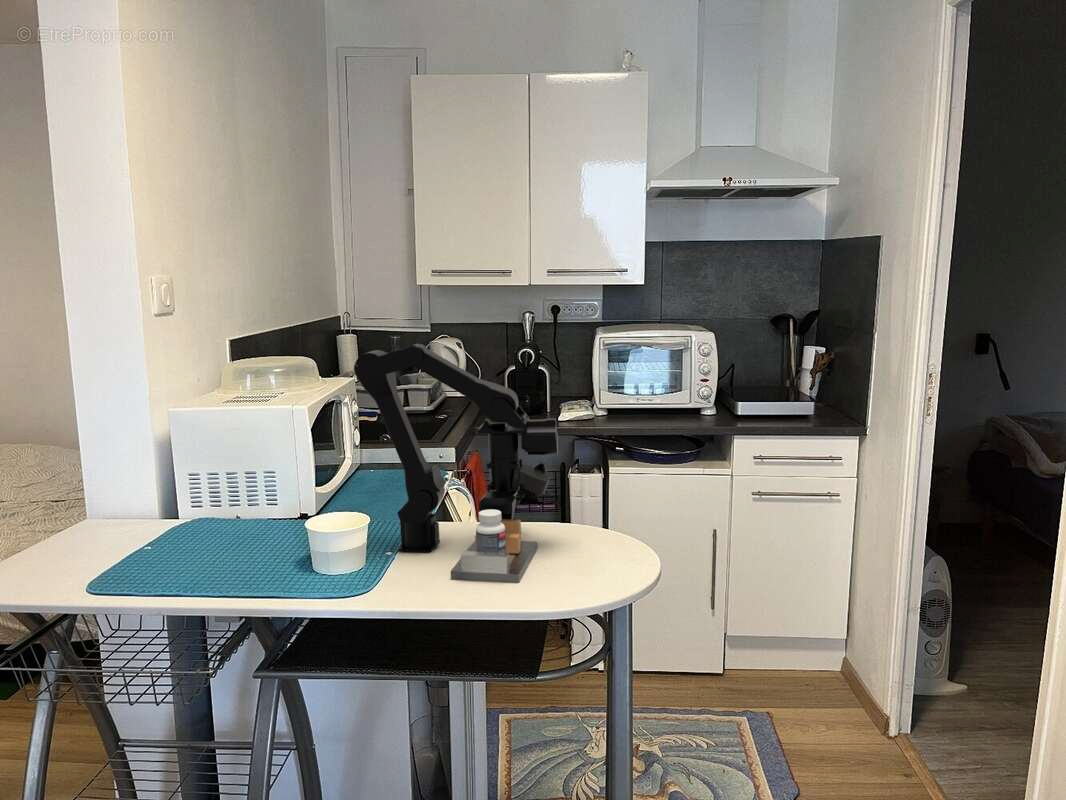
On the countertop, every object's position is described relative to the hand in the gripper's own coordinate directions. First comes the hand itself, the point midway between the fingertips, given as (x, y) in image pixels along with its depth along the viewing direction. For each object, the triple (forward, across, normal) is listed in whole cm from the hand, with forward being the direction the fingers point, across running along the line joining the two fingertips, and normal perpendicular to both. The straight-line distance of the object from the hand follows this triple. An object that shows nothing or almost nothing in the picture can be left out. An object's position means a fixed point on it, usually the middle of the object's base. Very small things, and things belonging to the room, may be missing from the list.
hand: (507, 532), depth 153 cm
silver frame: (+2, -10, 0) cm, 10 cm away
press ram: (0, -6, 0) cm, 6 cm away
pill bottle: (0, -13, 0) cm, 13 cm away
